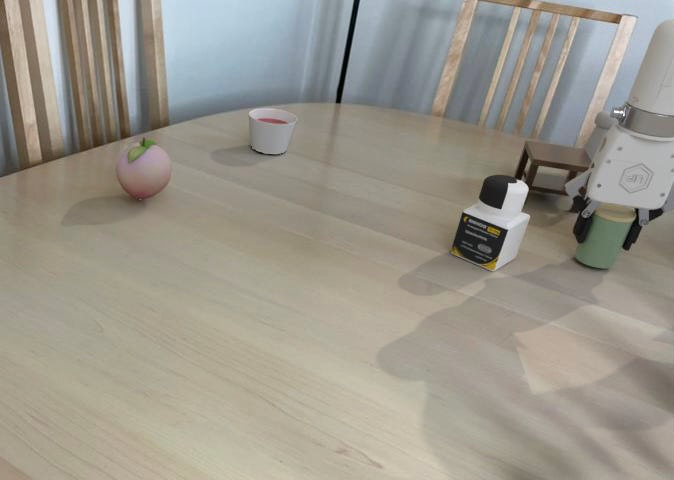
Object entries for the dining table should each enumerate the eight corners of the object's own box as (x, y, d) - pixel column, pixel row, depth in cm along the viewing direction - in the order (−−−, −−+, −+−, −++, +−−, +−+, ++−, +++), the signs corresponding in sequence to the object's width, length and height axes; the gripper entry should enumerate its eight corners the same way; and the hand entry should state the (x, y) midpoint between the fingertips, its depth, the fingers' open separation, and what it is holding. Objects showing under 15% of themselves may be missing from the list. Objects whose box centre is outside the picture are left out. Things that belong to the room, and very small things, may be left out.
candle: (269, 138, 146) (273, 105, 142) (301, 153, 140) (307, 119, 137) (235, 145, 141) (238, 112, 137) (267, 161, 135) (272, 127, 132)
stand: (568, 191, 135) (584, 149, 131) (578, 213, 127) (596, 168, 123) (511, 182, 137) (525, 140, 132) (518, 203, 129) (533, 158, 124)
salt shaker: (570, 184, 139) (596, 114, 131) (565, 173, 143) (590, 105, 136) (603, 189, 138) (631, 119, 130) (596, 178, 142) (624, 110, 135)
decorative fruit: (163, 216, 113) (166, 152, 107) (110, 208, 113) (111, 144, 108) (174, 192, 120) (178, 131, 115) (125, 185, 121) (126, 124, 115)
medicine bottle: (448, 253, 110) (472, 176, 103) (472, 240, 114) (496, 166, 108) (493, 273, 106) (520, 194, 99) (515, 259, 110) (543, 182, 104)
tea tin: (610, 254, 113) (631, 205, 108) (618, 271, 108) (641, 221, 104) (570, 247, 114) (589, 199, 109) (577, 265, 109) (597, 214, 104)
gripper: (589, 120, 97) (543, 244, 108) (730, 139, 95) (670, 264, 105) (578, 104, 103) (536, 223, 114) (711, 121, 101) (656, 241, 111)
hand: (601, 241), depth 109 cm, fingers closed on tea tin, 5 cm apart
